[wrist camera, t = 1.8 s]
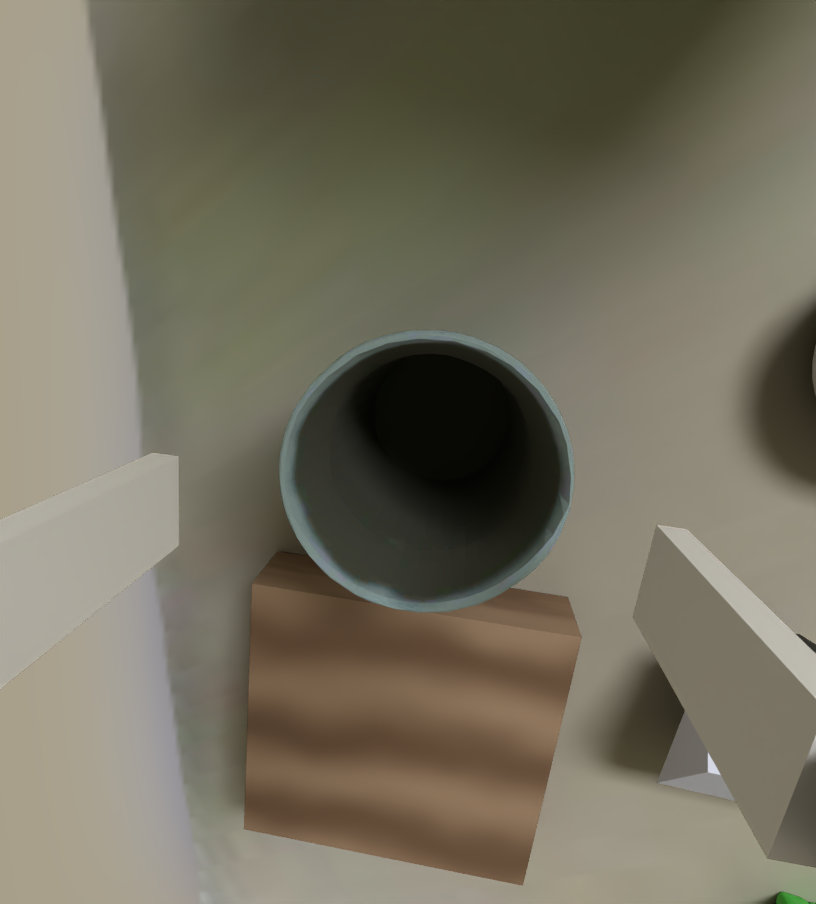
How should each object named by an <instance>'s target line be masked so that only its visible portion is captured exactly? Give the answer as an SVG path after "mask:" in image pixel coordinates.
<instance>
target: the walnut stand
mask: <svg viewBox="0 0 816 904" xmlns="http://www.w3.org/2000/svg"><path fill="white" fill-rule="evenodd" d="M581 639H582V637H581V634H580V631H579V628H578V625H577V622H576V619H575V617H574V614H573V611H572V608H571V605H570V602H569V599H568V597H564V596H557V595H551V594H545V593H538V592H532V591H526V590H519V589H513V588H509V589H508V590H506V591H505V592H503V593H501V594H500V595H498V596H496V597H494V598H492V599H490V600H487V601H485V602H483V603H481V604H478V605H475V606H470V607H466V608H462V609H458V610H453V611H449V612H430V613H417V612H410V611H403V610H396V609H392V608H388V607H385V606H382V605H379V604H375V603H372V602H370V601H368V600H366V599H363V598H361V597H359V596H357V595H355V594H353V593H352V592H350V591H349V590H347V589H346V588H344V587H343V586H341V585H340V584H338V583H337V582H336V581H334V580H333V579H331V578H330V577H329V576H328V575H327V574H326V573H325V572H324V571H322V570H321V569H320V567H319V566H318V565H317V564H316V563H315V562H314V561H313V559H312V558H311V557H310V556H304V555H298V554H291V553H285V552H279V551H277V553H276V554H275V555H274V556H273V558H272V559H271V560H270V561H269V563H268V564H267V565H266V567H265V568H264V569H263V570H262V572H261V573H260V574H259V575H258V577H257V578H256V579H255V580H254V582H253V583H252V598H251V629H250V660H249V691H248V723H247V754H246V785H245V816H244V829H246V830H251V831H256V832H261V833H266V834H271V835H276V836H281V837H286V838H291V839H296V840H301V841H305V842H310V843H315V844H320V845H325V846H330V847H335V848H340V849H345V850H350V851H355V852H360V853H365V854H370V855H375V856H379V857H384V858H389V859H394V860H399V861H404V862H409V863H414V864H419V865H424V866H429V867H434V868H439V869H444V870H449V871H453V872H458V873H463V874H468V875H473V876H478V877H483V878H488V879H493V880H498V881H503V882H508V883H513V884H518V885H523V882H524V878H525V874H526V870H527V866H528V861H529V857H530V853H531V849H532V845H533V840H534V836H535V832H536V828H537V824H538V819H539V815H540V811H541V807H542V803H543V798H544V794H545V790H546V786H547V782H548V777H549V773H550V769H551V765H552V761H553V756H554V752H555V748H556V744H557V739H558V735H559V731H560V727H561V723H562V718H563V714H564V710H565V706H566V702H567V697H568V693H569V689H570V685H571V681H572V676H573V672H574V668H575V664H576V660H577V655H578V651H579V647H580V643H581Z"/></svg>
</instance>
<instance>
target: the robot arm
mask: <svg viewBox="0 0 816 904" xmlns="http://www.w3.org/2000/svg"><path fill="white" fill-rule="evenodd" d="M178 546H179V456H173V455H166V454H159V453H151V454H148V455H146V456H144V457H141V458H139V459H137V460H135V461H132V462H130V463H128V464H125V465H123V466H121V467H119V468H116V469H114V470H112V471H110V472H107V473H105V474H103V475H100V476H98V477H96V478H93V479H91V480H89V481H87V482H85V483H82V484H80V485H77V486H75V487H73V488H71V489H68V490H66V491H64V492H62V493H59V494H57V495H54V496H52V497H50V498H48V499H45V500H43V501H41V502H39V503H36V504H34V505H32V506H29V507H27V508H25V509H23V510H20V511H18V512H16V513H14V514H11V515H9V516H7V517H4V518H2V519H0V689H1V688H2V687H3V686H5V685H6V684H7V683H8V682H10V681H11V680H12V679H13V678H15V677H16V676H17V675H18V674H20V673H21V672H22V671H23V670H25V669H26V668H27V667H28V666H30V665H31V664H32V663H33V662H34V661H36V660H37V659H38V658H40V657H41V656H42V655H43V654H45V653H46V652H47V651H48V650H49V649H51V648H52V647H53V646H55V645H56V644H57V643H58V642H60V640H62V639H63V638H64V637H66V636H67V635H68V634H69V633H71V632H72V631H73V630H74V629H76V628H77V627H78V626H79V625H81V624H82V623H83V622H84V621H86V620H87V619H88V618H89V617H90V616H92V615H93V614H94V613H96V612H97V611H98V610H99V609H101V608H102V607H103V606H104V605H105V604H107V603H108V602H109V601H111V600H112V599H113V598H114V597H116V596H117V595H118V594H119V593H120V592H122V591H123V590H124V589H126V588H127V587H128V586H129V585H130V584H132V583H133V582H134V581H136V580H137V579H138V578H139V577H140V576H142V575H143V574H144V573H145V572H147V571H148V570H149V569H150V568H152V567H153V566H154V565H155V564H157V563H158V562H159V561H160V560H162V559H163V558H164V557H165V556H167V555H168V554H169V553H170V552H172V551H173V550H174V549H175V548H177V547H178ZM633 618H634V620H635V622H636V624H637V625H638V627H639V629H640V631H641V632H642V634H643V636H644V638H645V640H646V641H647V643H648V645H649V647H650V649H651V650H652V652H653V654H654V656H655V658H656V659H657V661H658V663H659V665H660V667H661V668H662V670H663V672H664V674H665V676H666V677H667V679H668V681H669V683H670V685H671V686H672V688H673V690H674V692H675V694H676V695H677V697H678V699H679V701H680V703H681V704H682V706H683V708H684V710H685V712H686V713H687V715H688V717H689V719H690V721H691V722H692V724H693V726H694V728H695V730H696V731H697V733H698V735H699V737H700V739H701V740H702V742H703V744H704V746H705V747H706V749H707V751H708V753H709V755H710V756H711V758H712V760H713V762H714V764H715V765H716V767H717V769H718V771H719V773H720V774H721V776H722V778H723V780H724V782H725V783H726V785H727V787H728V789H729V791H730V792H731V794H732V796H733V798H734V800H735V801H736V803H737V805H738V807H739V809H740V810H741V812H742V814H743V816H744V818H745V819H746V821H747V823H748V825H749V827H750V828H751V830H752V832H753V834H754V836H755V837H756V839H757V841H758V843H759V845H760V846H761V848H762V850H763V852H764V854H765V855H766V857H767V859H772V860H778V861H783V862H788V863H794V864H799V865H804V866H810V867H815V868H816V644H814V643H812V642H811V641H809V640H808V639H806V638H805V637H803V636H801V635H800V634H795V633H794V632H793V631H792V630H791V629H790V628H789V627H788V626H787V625H786V624H784V623H783V622H782V621H781V620H780V619H779V618H778V617H777V616H776V615H775V614H774V613H773V612H772V611H771V610H770V609H769V608H768V607H767V606H766V605H765V604H764V603H763V602H762V601H761V600H760V599H759V598H758V597H756V596H755V595H754V594H753V593H752V592H751V591H750V590H749V589H748V588H747V587H746V586H745V585H744V584H743V583H742V582H741V581H740V580H739V579H738V578H737V577H736V576H735V575H734V574H733V573H732V572H731V571H729V570H728V569H727V568H726V567H725V566H724V565H723V564H722V563H721V562H720V561H719V560H718V559H717V558H716V557H715V556H714V555H713V554H712V553H711V552H710V551H709V550H708V549H707V548H706V547H705V546H704V545H703V544H701V543H700V542H699V541H698V540H697V539H696V538H695V537H694V536H693V535H692V534H691V533H690V532H689V531H688V530H687V529H682V528H675V527H668V526H661V525H656V529H655V533H654V537H653V540H652V544H651V548H650V552H649V556H648V560H647V564H646V567H645V571H644V575H643V579H642V583H641V587H640V590H639V594H638V598H637V602H636V606H635V610H634V614H633Z"/></svg>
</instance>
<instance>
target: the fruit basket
mask: <svg viewBox="0 0 816 904" xmlns="http://www.w3.org/2000/svg"><path fill="white" fill-rule="evenodd" d="M775 904H816V903H811V902H809V903H808V902H807V901H805V900H804V899H802V898H800V897H797V896H794V895H791V894H788V893H785V892H780V893H779V894H778V896H777V898H776V903H775Z"/></svg>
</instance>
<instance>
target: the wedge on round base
mask: <svg viewBox="0 0 816 904" xmlns="http://www.w3.org/2000/svg"><path fill="white" fill-rule="evenodd" d="M657 783H659V784H664V785H668V786H672V787H677V788H681V789H685V790H690V791H694V792H698V793H703V794H707V795H711V796H716V797H720V798H724V799H729V800H733V801H735V800H734V798H733V796H732V794H731V792H730V791H729V789H728V787H727V785H726V783H725V782H724V780H723V778H722V776H721V774H720V773H719V771H718V769H717V767H716V765H715V764H714V762H713V760H712V758H711V756H710V755H709V753H708V751H707V749H706V747H705V746H704V744H703V742H702V740H701V739H700V737H699V735H698V733H697V731H696V730H695V728H694V726H693V724H692V722H691V721H690V719H689V717H688V715H687V713H686V712H684V714H683V717H682V720H681V722H680V725H679V727H678V730H677V732H676V735H675V737H674V740H673V743H672V745H671V748H670V750H669V753H668V755H667V758H666V760H665V763H664V766H663V768H662V771H661V773H660V776H659V778H658V781H657Z"/></svg>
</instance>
